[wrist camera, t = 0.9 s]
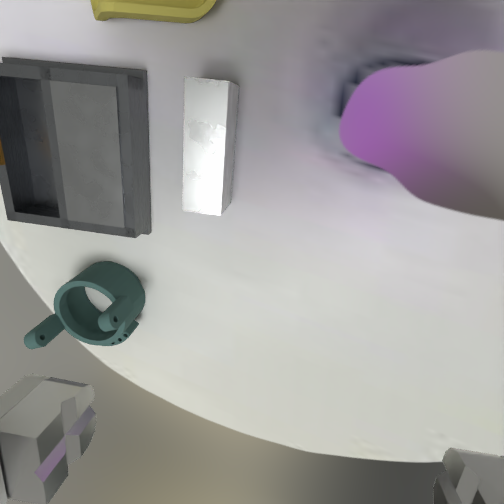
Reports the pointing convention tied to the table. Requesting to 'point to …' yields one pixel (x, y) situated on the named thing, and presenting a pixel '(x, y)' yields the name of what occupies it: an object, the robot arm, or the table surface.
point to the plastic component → (152, 9)
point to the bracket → (93, 308)
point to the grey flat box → (75, 146)
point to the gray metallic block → (208, 144)
